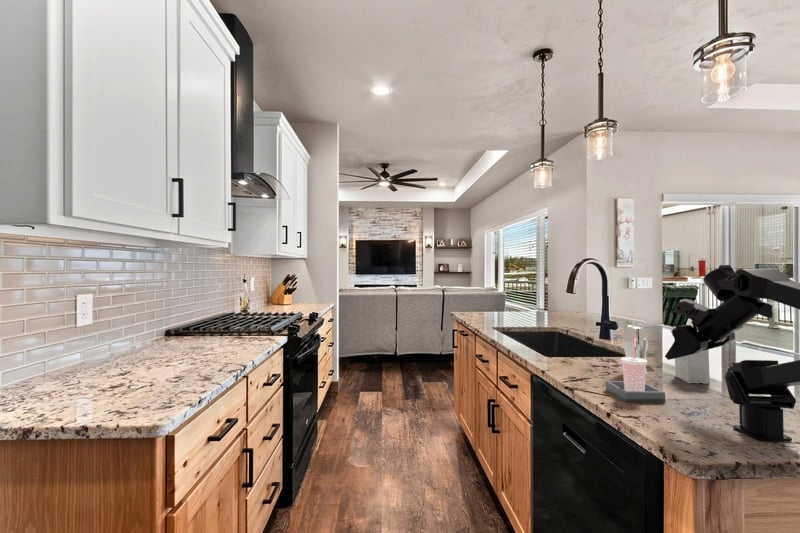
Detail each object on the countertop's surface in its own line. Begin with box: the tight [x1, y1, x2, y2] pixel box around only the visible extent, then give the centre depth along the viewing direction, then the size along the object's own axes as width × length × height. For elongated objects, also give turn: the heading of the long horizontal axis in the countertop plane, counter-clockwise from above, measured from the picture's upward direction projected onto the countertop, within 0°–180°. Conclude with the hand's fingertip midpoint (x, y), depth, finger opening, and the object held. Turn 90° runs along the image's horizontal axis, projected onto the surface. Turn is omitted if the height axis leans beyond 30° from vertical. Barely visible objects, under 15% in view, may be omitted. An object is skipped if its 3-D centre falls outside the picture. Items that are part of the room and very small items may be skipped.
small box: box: [674, 349, 711, 385], centre depth 116 cm, size 8×6×10 cm
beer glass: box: [622, 325, 649, 376], centre depth 124 cm, size 7×7×15 cm
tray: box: [605, 380, 666, 403], centre depth 102 cm, size 10×10×2 cm
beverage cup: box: [620, 341, 648, 392], centre depth 102 cm, size 6×6×14 cm
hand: (676, 355), depth 94 cm, fingers open, 9 cm apart
